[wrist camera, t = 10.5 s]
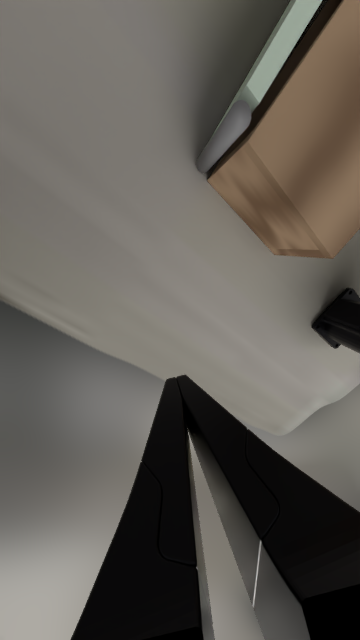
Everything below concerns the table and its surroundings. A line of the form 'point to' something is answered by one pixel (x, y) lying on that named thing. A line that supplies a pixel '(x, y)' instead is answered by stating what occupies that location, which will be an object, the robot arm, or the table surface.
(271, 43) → the door
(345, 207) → the cabinet
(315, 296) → the table surface
